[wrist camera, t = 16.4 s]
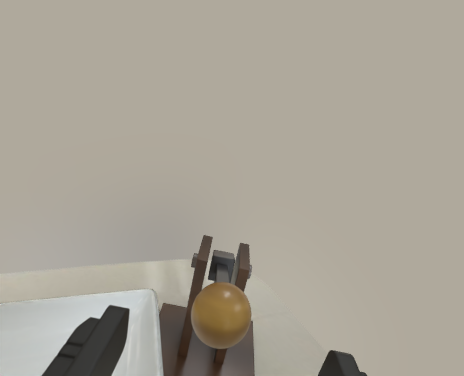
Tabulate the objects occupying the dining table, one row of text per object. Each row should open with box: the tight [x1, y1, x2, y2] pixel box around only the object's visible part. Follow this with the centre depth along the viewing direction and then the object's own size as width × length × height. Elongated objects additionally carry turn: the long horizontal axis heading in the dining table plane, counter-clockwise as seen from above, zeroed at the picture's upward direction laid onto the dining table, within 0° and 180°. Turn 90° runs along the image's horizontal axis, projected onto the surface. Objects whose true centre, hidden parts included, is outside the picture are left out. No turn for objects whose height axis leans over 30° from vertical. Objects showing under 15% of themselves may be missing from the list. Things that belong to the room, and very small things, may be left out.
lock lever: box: [191, 250, 251, 349], centre depth 21 cm, size 14×4×4 cm, turn 178°
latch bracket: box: [159, 235, 255, 376], centre depth 28 cm, size 9×12×14 cm
